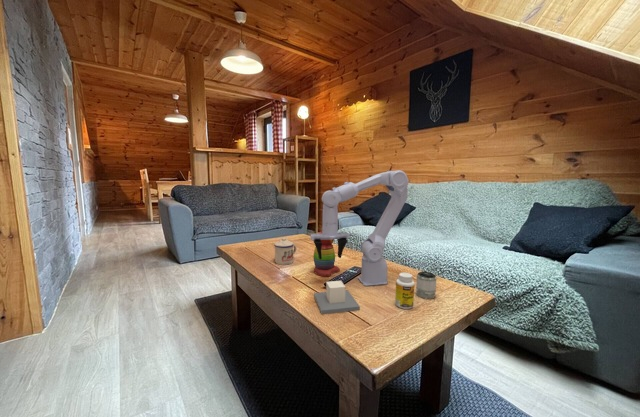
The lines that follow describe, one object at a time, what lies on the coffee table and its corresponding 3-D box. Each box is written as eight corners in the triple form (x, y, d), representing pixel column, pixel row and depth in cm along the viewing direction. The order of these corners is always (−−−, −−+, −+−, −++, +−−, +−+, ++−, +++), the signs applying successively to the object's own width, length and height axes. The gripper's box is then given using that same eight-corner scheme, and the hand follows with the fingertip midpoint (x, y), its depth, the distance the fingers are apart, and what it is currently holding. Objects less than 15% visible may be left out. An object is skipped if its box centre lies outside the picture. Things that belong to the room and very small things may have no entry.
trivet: (347, 293, 92) (347, 289, 92) (359, 310, 80) (359, 306, 80) (314, 296, 90) (314, 292, 89) (321, 314, 78) (321, 310, 78)
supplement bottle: (400, 310, 80) (402, 278, 79) (391, 302, 86) (393, 272, 84) (417, 308, 82) (418, 277, 80) (407, 300, 87) (408, 270, 86)
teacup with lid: (282, 266, 119) (282, 241, 117) (270, 262, 125) (270, 238, 123) (302, 260, 127) (302, 237, 126) (289, 256, 134) (289, 234, 132)
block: (340, 294, 88) (340, 280, 87) (345, 301, 83) (345, 286, 83) (326, 296, 87) (326, 281, 86) (329, 303, 82) (330, 288, 82)
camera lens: (430, 301, 86) (431, 278, 85) (412, 295, 91) (413, 273, 90) (438, 295, 91) (439, 273, 90) (420, 289, 95) (422, 268, 94)
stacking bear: (327, 278, 106) (327, 234, 103) (307, 272, 112) (307, 231, 109) (341, 270, 114) (342, 230, 112) (323, 265, 120) (323, 227, 118)
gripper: (313, 225, 93) (313, 262, 94) (352, 223, 96) (351, 259, 97) (309, 221, 99) (309, 256, 101) (346, 220, 102) (345, 254, 104)
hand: (329, 257), depth 100 cm, fingers open, 7 cm apart
